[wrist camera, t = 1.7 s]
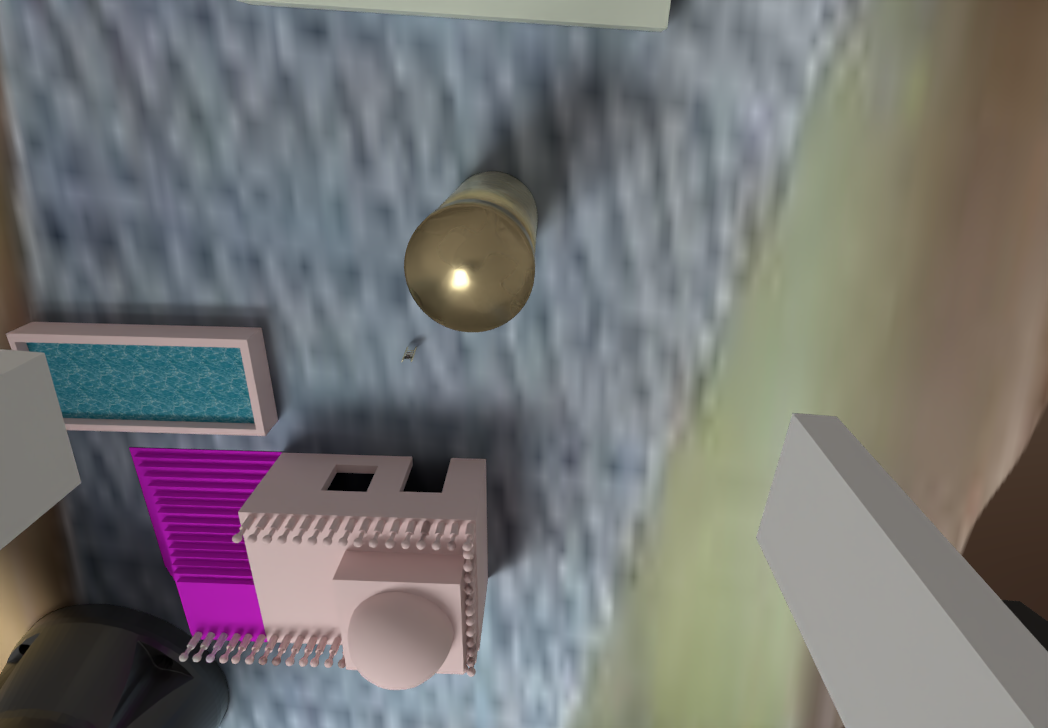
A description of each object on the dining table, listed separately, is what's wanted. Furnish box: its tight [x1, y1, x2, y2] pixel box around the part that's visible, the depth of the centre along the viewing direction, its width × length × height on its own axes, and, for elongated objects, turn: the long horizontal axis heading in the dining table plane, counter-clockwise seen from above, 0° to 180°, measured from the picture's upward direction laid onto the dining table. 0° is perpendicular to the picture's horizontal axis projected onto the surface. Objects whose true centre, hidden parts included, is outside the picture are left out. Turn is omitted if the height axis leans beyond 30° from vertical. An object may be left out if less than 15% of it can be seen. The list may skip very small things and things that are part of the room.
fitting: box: [404, 171, 537, 332], centre depth 25 cm, size 4×4×10 cm
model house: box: [6, 322, 488, 690], centre depth 32 cm, size 25×17×11 cm
